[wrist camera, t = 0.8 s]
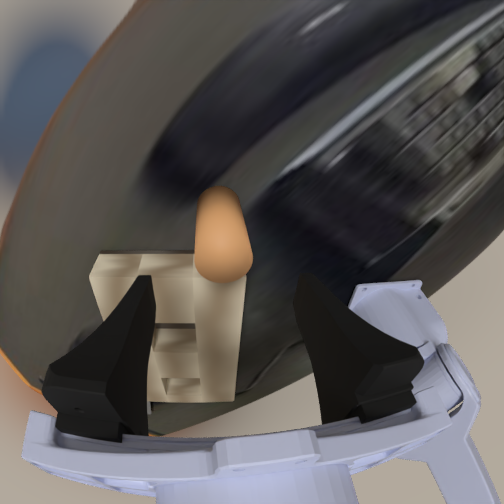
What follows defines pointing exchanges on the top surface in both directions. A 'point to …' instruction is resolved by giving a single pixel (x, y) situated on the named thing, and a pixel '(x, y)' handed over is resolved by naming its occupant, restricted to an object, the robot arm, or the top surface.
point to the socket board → (179, 322)
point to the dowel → (221, 237)
